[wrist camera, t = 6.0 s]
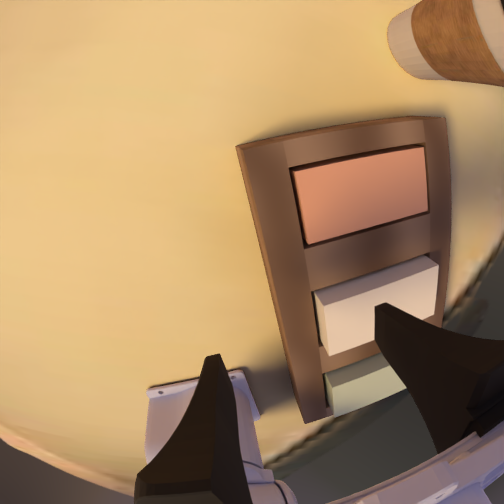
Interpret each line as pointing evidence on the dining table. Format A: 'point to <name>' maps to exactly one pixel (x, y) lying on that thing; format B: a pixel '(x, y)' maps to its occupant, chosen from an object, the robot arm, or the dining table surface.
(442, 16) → the coffee cup
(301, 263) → the button board
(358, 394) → the sage button
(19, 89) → the dining table surface
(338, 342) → the cream button
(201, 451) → the robot arm
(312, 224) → the terracotta button
